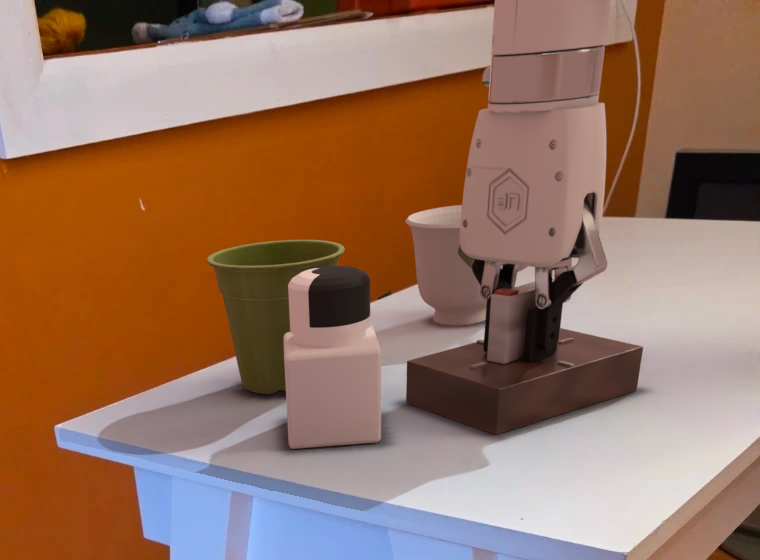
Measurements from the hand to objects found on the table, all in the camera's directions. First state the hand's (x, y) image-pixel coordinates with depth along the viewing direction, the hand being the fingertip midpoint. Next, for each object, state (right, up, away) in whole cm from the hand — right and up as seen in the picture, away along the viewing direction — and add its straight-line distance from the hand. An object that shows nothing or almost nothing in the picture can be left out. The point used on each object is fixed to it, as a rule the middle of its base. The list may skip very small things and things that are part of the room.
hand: (519, 350), depth 77 cm
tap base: (+1, -3, +2) cm, 4 cm away
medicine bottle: (-15, -7, 0) cm, 17 cm away
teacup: (+2, +12, +23) cm, 26 cm away
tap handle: (0, 0, 0) cm, 0 cm away
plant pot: (-18, +1, +11) cm, 22 cm away
